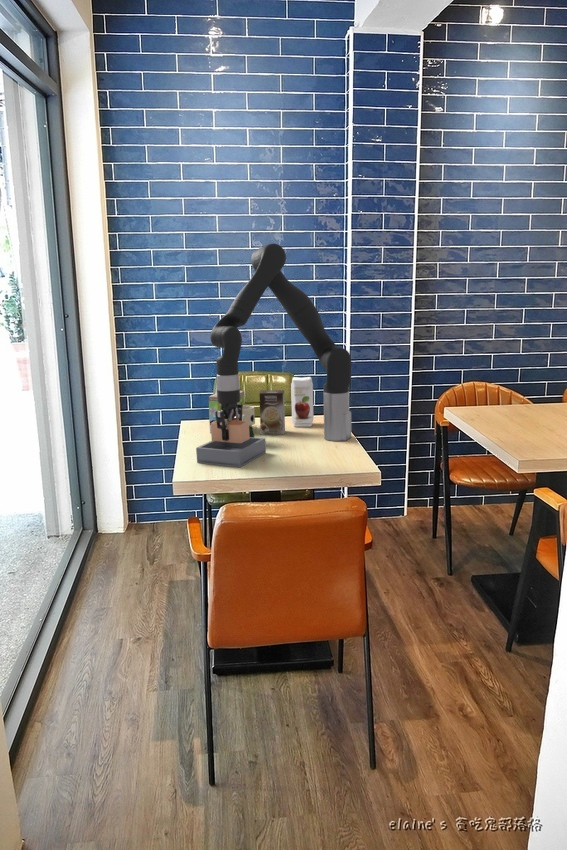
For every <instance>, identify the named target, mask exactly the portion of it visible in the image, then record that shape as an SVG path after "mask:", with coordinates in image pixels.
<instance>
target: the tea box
mask: <svg viewBox="0 0 567 850" xmlns="http://www.w3.org/2000/svg"><path fill="white" fill-rule="evenodd" d="M245 395H246V393H245V390H240V402H238V403H237V404H242V405H243V406H246V396H245ZM220 409H221V404H220V403H218V401H217V392H215V393H214V394H211V395H210V396H208V417H209V420H208V421H209V434H211V423H212V422H214V421H216V414H215V412H216V411H220ZM225 420H228V419H225Z"/></svg>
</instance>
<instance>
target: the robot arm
mask: <svg viewBox="0 0 567 850" xmlns="http://www.w3.org/2000/svg"><path fill="white" fill-rule="evenodd" d="M250 259H251V261H250V262H251V266H252V268H253V270H254V271H255V272H254V273H253V275H252V276H251V278H250V279H249V280H248V281H247V283H246V284H245V285H244V286H243V287H242V288H241V289H240V290H239V292H238V294H237V295H236V296H235V298H234V300H233V301H232V303H231V305H230V307H229V308H228V310H227V311H226V313H225V314H224V315H223V316H222V317H221V318H220V319H219V320H218V322H216V323H215V324H214V326H213V327H212V329H211V332H210V342H211V345H213V346H214V347H215V348H220V349H223V353H222V355H220V356H218V357H216V361H215V364H216V367H215V368H216V393H217V401H218V403H220V404H221V409H220V411H216V412H215V414H216V422H217V428H219V429H221V430H222V440H224V441H228V440H229V430H228V428H229V423H231V420H236V421H242V410H243V405H242V404H237V403H238V402H240V391H241V384H240V382H241V381H240V376H239V358H240V354H241V348H242V342H243V336H242V333H241V331H240V330H239V329H238V328H240V327H243V326H245V325H246V324H247V323H248V320H249V319H250V317H251V315H252V314H253V312H254V310H255V308H256V306H257V305H258V303H259V301H260V300H261V298H262V296H263V295H264V293H265V292H266V290H267V289H268V288H269V290H271V292H272V293H273V295H274V296H275V298H276V300H277V301H278V302H279V304H280V305H281V307H282V308H283V309H284V310H285V312H286V313H287V315H288V317H289V318H290V320H291V321H292V322H293V324H294V326H295V327H296V328H297V329H298V331H299V332H300V333H301V334H302V336H303V337H304V338H305V340H306V342H308V344H309V345H310V346H311V348H312V350H313V352H314V354H315V355H316V358H317V360H318V361H319V363H320V364H321V366H322V368H323V369H325V371H326V380H325V383H323V387H322V389H323V436H324V437H323V438H324V439H325V440H327V441H331V442H336V441H339V442H340V441H344V442H345V441H348V440H350V438H352V411H350V387H351V386H350V385H351V382H352V367H353V364H352V357H351V354H350V352H349V351H348V350H347V349H346V348H343V347H339V346H337V344H336V343H335V342H334V341H333V340H332V339H331V337H330V336H329V334H328V333H327V331H326V329H325V327H324V324H323V320H322V317H321V315H320V313H319V311H318V309H317V308H316V306H315V304H314V303H313V301H312V300H311V298H310V297H309V296H308V295H307V294H306V293H305V292H304V291H303V290H301V289H300V288H298V287H297V286H296V285H294V284H293V283H292V282H290V281H289V279H287V277H286V276H285V275H284V273H283V272H282V269H283V268H284V266H285V264H286V263H287V262H286V261H287V255H286V251H285V249H284V248H283V247H282V246H281V245H279V243H278V244H277V243H268V244H265V245H264V246H262V247H258V248H257V249H256V250H254V251H253V252H252V254H251V257H250ZM238 410H239V411H238ZM225 419H228V420H225ZM220 422H221V425H220ZM225 423H226V426H225Z"/></svg>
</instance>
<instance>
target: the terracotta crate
mask: <svg viewBox="0 0 567 850" xmlns="http://www.w3.org/2000/svg"><path fill="white" fill-rule="evenodd" d="M220 425H221V422H220ZM225 426H226V423H225ZM228 430H229V440H228V441H224V440H222V430H221V429H219V428H217V422H216V421H214V422H212V423H211V433H210V435H211V441H220V442H230V443H243V442H245V441H247V440H249V439H250V436H249V421H236V420H231V423H229V428H228Z"/></svg>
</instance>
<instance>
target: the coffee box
mask: <svg viewBox="0 0 567 850" xmlns="http://www.w3.org/2000/svg"><path fill="white" fill-rule="evenodd" d="M285 420H286V419H285V390H275V389H273V390H272V389H271V390H268V389H267V390H266V389H264V390H263V389H262V390H260V392H259V423H260V425H259V426H260V427H259V428H260V433H259V435H262V436H263V435H269V436H271V435H272V436H274V435H275V436H276V435H278V436H281V435H285V432H286V421H285Z"/></svg>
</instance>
